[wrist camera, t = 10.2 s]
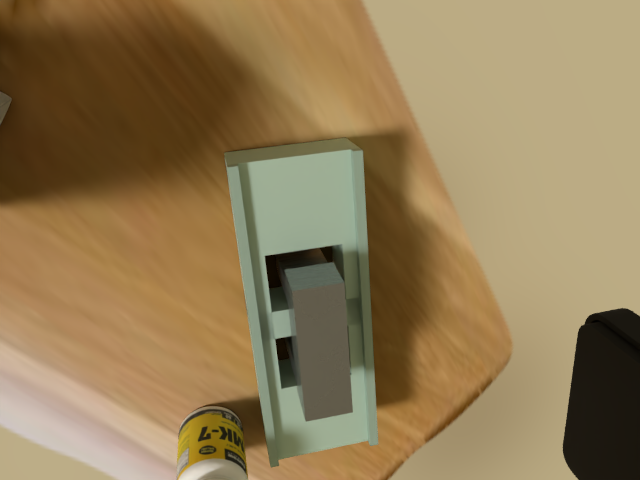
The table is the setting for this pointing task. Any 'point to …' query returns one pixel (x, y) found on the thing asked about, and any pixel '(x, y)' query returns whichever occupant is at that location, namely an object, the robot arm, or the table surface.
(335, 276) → the tall taupe block
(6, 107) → the skincare box
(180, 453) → the supplement bottle
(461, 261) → the table surface
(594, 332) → the robot arm
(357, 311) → the rail
